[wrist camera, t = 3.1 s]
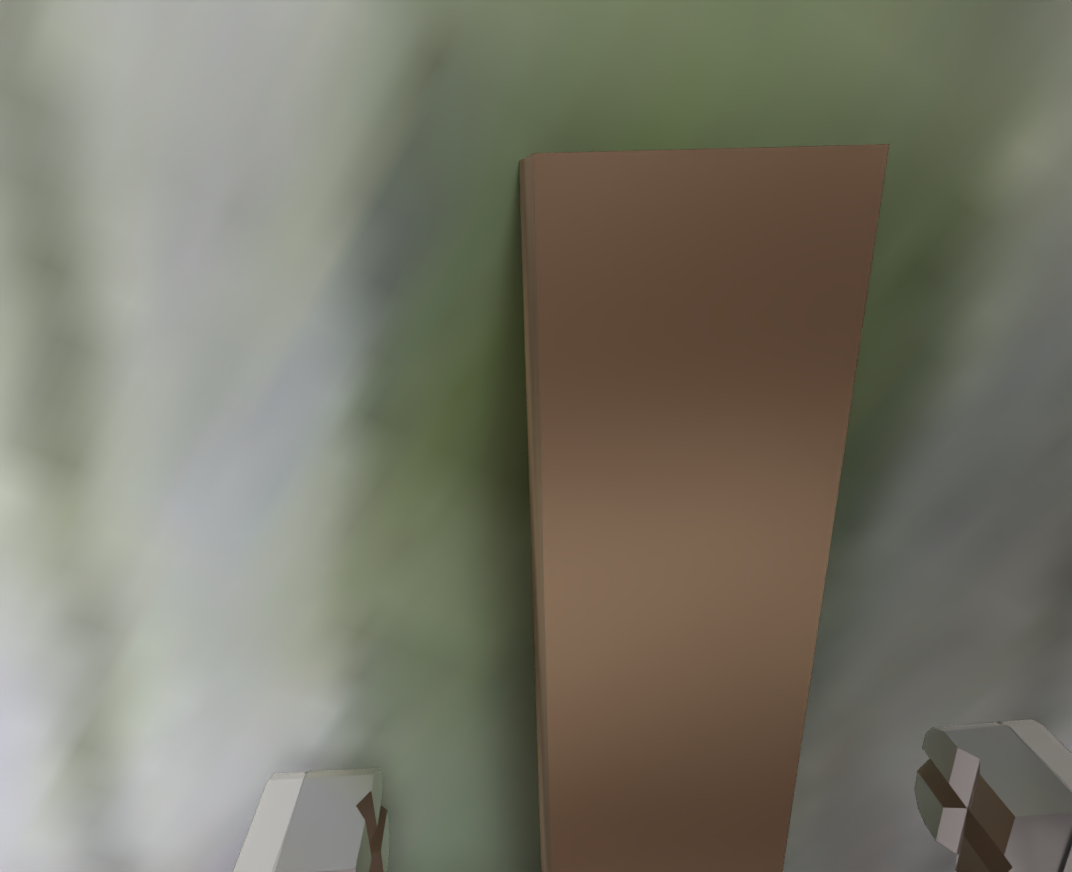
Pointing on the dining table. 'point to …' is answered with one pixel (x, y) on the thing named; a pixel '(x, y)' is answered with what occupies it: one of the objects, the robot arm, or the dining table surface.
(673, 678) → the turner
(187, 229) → the dining table surface
